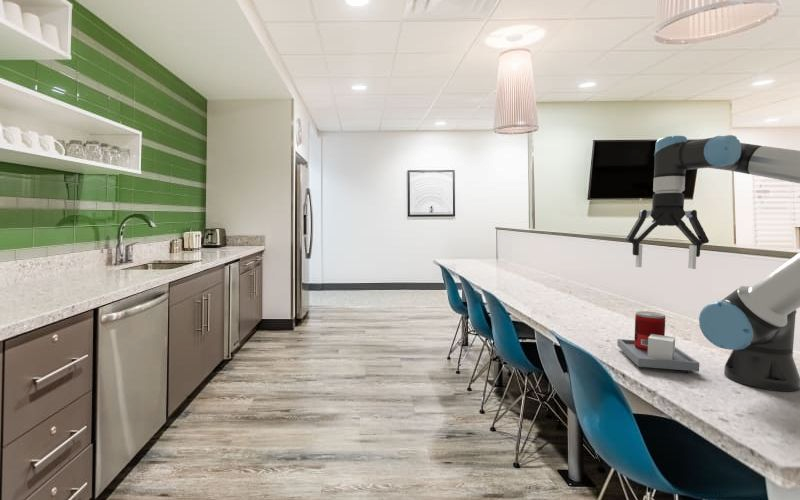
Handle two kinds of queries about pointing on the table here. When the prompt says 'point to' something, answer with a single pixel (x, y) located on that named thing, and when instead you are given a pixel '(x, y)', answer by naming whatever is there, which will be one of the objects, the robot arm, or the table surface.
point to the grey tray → (641, 360)
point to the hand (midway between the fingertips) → (664, 267)
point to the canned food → (647, 327)
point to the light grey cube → (661, 347)
